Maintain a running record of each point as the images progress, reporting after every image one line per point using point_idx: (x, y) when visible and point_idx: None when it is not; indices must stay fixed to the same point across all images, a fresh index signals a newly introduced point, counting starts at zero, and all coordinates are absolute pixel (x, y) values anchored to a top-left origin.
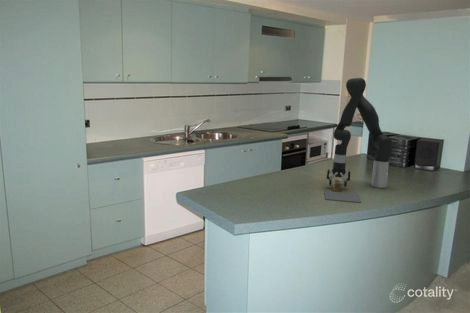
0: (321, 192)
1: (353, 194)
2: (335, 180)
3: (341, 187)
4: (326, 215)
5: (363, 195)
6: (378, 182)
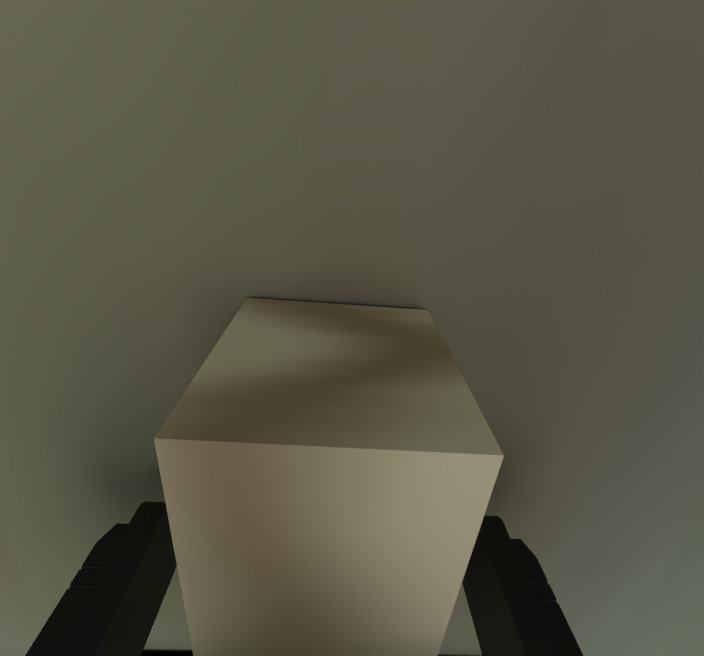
0: None
1: None
2: (235, 651)
3: None
4: None
5: (652, 643)
6: None
